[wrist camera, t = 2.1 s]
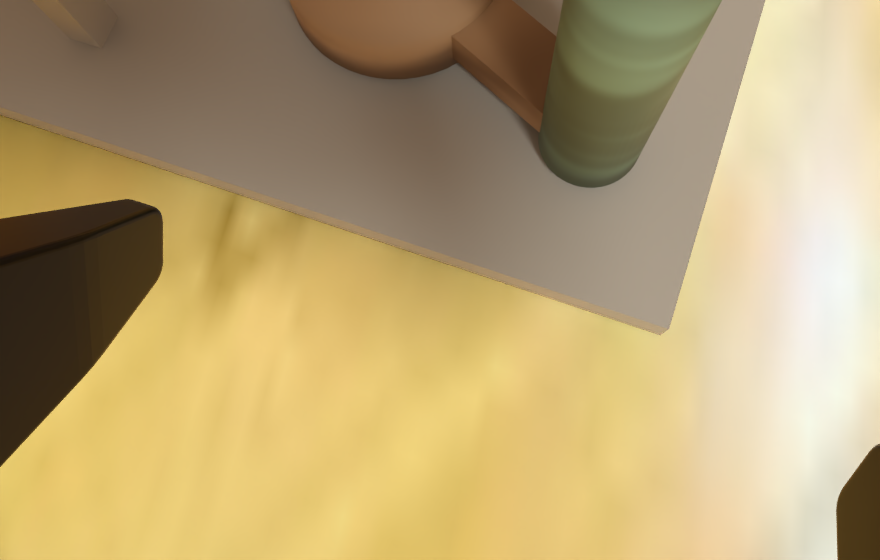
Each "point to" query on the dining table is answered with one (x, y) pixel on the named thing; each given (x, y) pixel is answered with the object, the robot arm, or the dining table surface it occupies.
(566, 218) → the stand
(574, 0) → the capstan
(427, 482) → the dining table surface
